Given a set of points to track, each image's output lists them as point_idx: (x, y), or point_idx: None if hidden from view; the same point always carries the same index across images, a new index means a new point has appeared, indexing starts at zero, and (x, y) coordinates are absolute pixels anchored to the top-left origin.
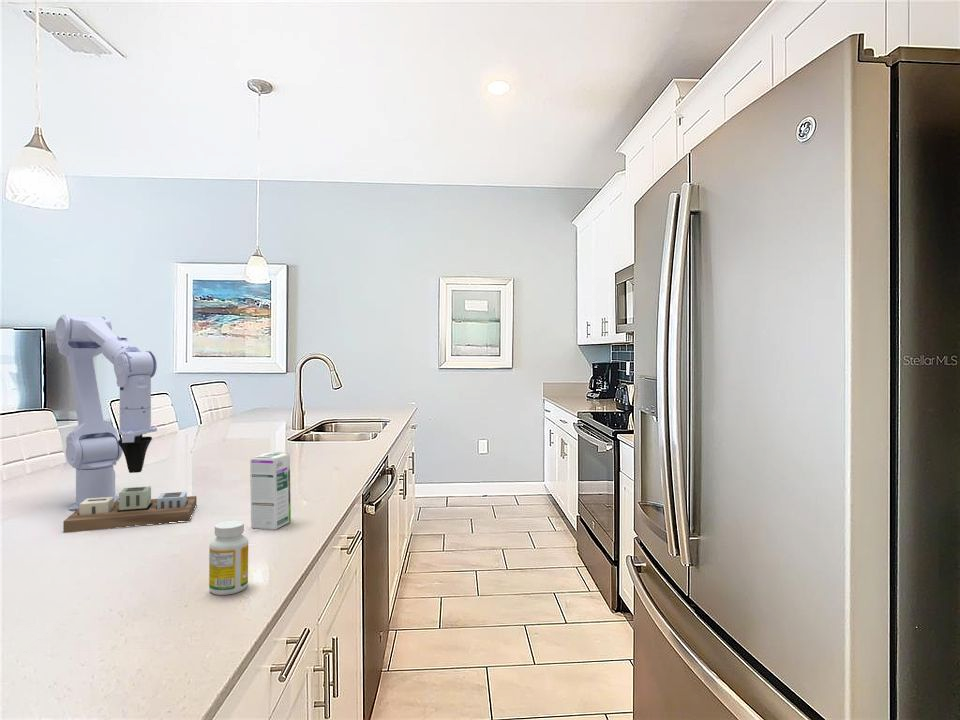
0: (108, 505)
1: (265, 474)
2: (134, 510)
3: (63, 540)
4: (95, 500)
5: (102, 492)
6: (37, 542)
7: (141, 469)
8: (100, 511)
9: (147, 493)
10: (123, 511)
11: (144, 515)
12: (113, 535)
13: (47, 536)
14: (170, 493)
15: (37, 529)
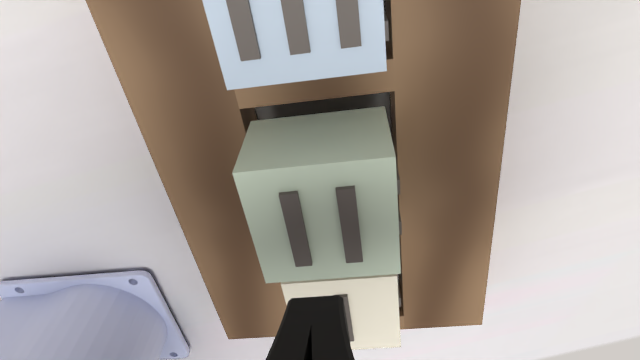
0: None
1: None
2: None
3: (578, 265)
4: (352, 321)
5: (119, 338)
6: (561, 313)
7: (318, 308)
8: None
9: (358, 148)
10: None
11: (511, 75)
12: (604, 138)
13: (499, 312)
14: (253, 21)
15: (402, 351)
